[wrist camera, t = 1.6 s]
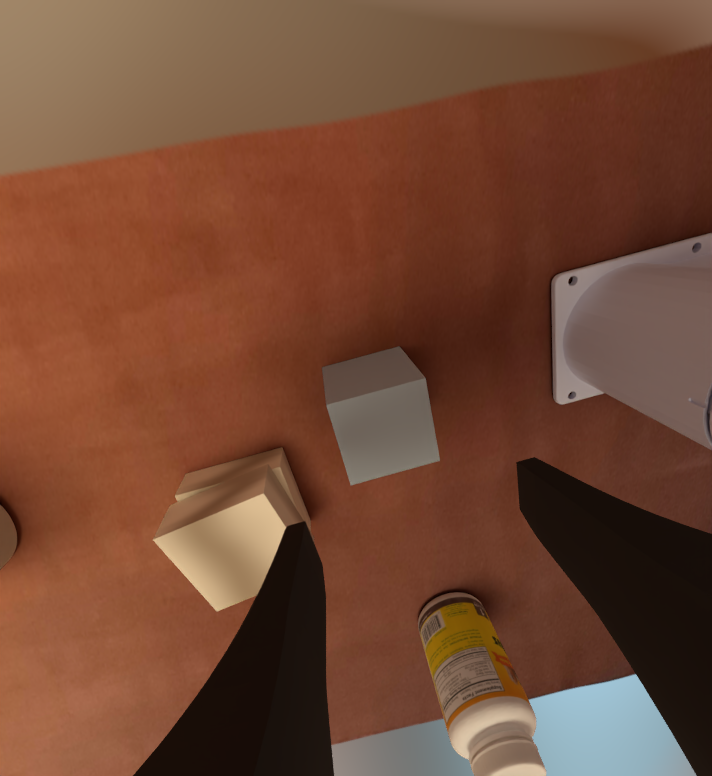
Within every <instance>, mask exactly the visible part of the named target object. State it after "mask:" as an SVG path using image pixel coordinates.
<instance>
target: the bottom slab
mask: <svg viewBox="0 0 712 776" xmlns="http://www.w3.org/2000/svg"><path fill="white" fill-rule="evenodd" d="M267 464H269V466H270V467H271V469H272V471H273V472H274V474H275V475H276V477H277V479H278V480H279V482H280V483H281V485H282V487H283V488H284V490H285V491H286V493H287V495H288V496H289V498H290V499H291V501H292V503H293V504H294V506H295V507H296V509H297V511H298V512H299V514H300V515H301V517H302V519H303V520H304V521H306V524H307V527H308V528H309V530H310V531H311V520H310V518H309V515H308V512H307V510H306V507H305V505H304V502H303V499H302V497H301V494H300V492H299V489H298V487H297V484H296V481H295V479H294V476H293V474H292V471H291V468H290V466H289V463H288V461H287V458H286V455H285V453H284V450H283V448H282V447H281V448H277V449H274V450H270V451H267V452H263V453H259V454H256V455H252V456H248V457H245V458H241V459H238V460H234V461H230V462H227V463H223V464H219V465H216V466H212V467H209V468H205V469H201V470H198V471H194V472H190V473H187V474H185V476H184V478H183V480H182V482H181V484H180V486H179V488H178V490H177V492H176V494H175V497H176V499H177V501H178V502H179V501H182V500H184V499H186V498H189V497H191V496H193V495H196V494H198V493H200V492H203V491H205V490H208V489H210V488H212V487H215V486H217V485H219V484H222V483H224V482H226V481H229V480H231V479H234V478H236V477H238V476H241V475H243V474H245V473H248V472H250V471H252V470H255V469H257V468H260V467H262V466H264V465H267Z"/></svg>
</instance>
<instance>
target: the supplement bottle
mask: <svg viewBox="0 0 712 776" xmlns="http://www.w3.org/2000/svg"><path fill="white" fill-rule="evenodd" d="M418 628H419V632H420V636H421V639H422V643H423V647H424V650H425V654H426V657H427V661H428V664H429V668H430V672H431V675H432V679H433V682H434V685H435V689H436V692H437V696H438V700H439V703H440V706H441V710H442V713H443V717H444V720H445V724H446V728H447V731H448V735H449V738H450V741H451V744H452V746H453V748H454V749H455V751H456V752H457V753H458V754H459V755H461V756H462V757H464V758H466V759H469V761H470V764H471V769H472V771H473V773H474V776H546V770H545V767H544V765H543V762H542V760H541V757H540V755H539V753H538V749H537V746H536V745H535V744H534V742H533V740H532V736H533V735H534V732H535V729H536V717H535V714H534V711H533V709H532V707H531V705H530V703H529V700H528V698H527V696H526V694H525V692H524V690H523V688H522V686H521V684H520V682H519V680H518V677H517V675H516V673H515V671H514V669H513V667H512V665H511V663H510V661H509V659H508V657H507V655H506V652H505V650H504V648H503V646H502V644H501V642H500V640H499V638H498V636H497V634H496V632H495V630H494V628H493V625H492V623H491V621H490V619H489V617H488V615H487V613H486V611H485V609H484V607H483V605H482V604H481V602H480V601H479V600H478V599H477V598H475V597H474V596H472V595H469V594H467V593H461V592H454V593H447V594H444V595H441V596H439V597H437V598H435V599H433V600H432V601H430V602H429V603H428V604H427V605H426V606H425V607H424V608H423V610H422V612H421V613H420V616H419V620H418Z"/></svg>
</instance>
